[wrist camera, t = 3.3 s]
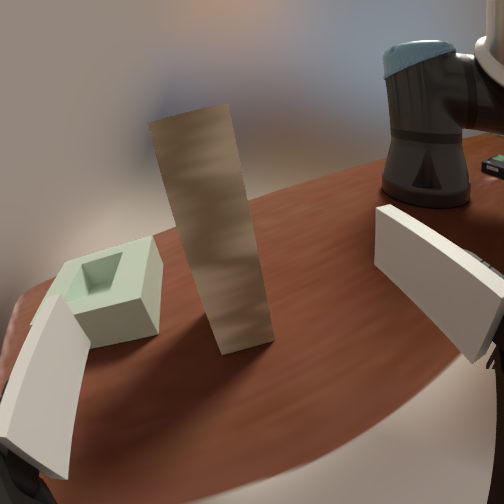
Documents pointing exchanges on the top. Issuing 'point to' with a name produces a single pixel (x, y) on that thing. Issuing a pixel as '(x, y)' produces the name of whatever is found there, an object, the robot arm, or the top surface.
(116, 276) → the end cap
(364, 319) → the top surface
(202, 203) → the wooden block
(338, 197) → the top surface
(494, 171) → the disk drive
